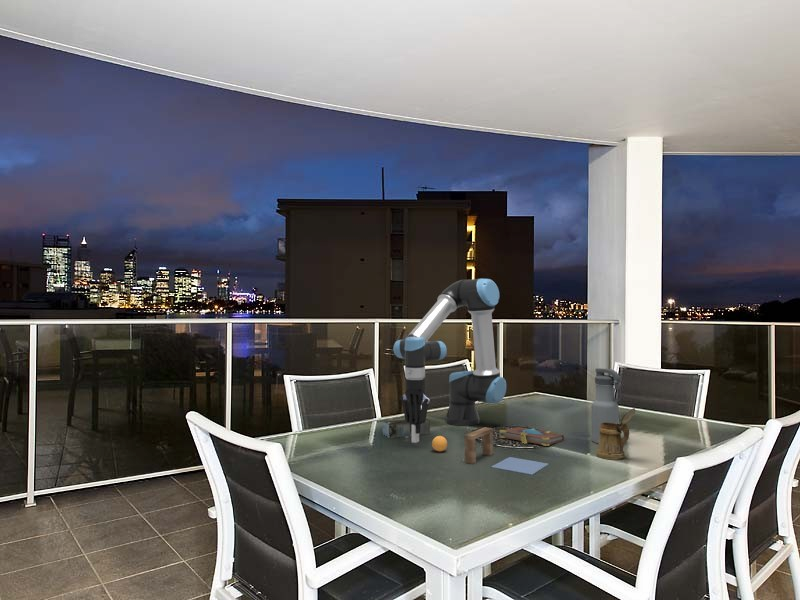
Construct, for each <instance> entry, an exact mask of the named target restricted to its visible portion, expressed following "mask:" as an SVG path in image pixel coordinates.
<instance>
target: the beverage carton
mask: <svg viewBox="0 0 800 600" xmlns="http://www.w3.org/2000/svg"><path fill="white" fill-rule="evenodd" d="M382 435H383V436H384V435H385V436H384V437H386V436H387V437H388V439H389V438H390V439H395V438H394V437H400V438H406V437H405V436H409V437H412V433H411V432H410V423H409V422H406V421H405V418H404V419H396V420H395V419H394V420H385V421H382ZM425 435H426V436H427V435H431V421H430V419H428V418H426V420H425V423H422V424H421V432H420V433H419V436H425ZM387 437H386V438H387Z"/></svg>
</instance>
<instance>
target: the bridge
mask: <svg viewBox="0 0 800 600" xmlns="http://www.w3.org/2000/svg"><path fill="white" fill-rule="evenodd" d="M493 431H494V429H493V427H486V426H485V427H482V428H479V429H476V430H475V431H474V430H473V431H472V432H469V433H467V434H465V435H464V463H465V464H471V465H473V464H476V462H477V457H476V455H477V453H476V451H477V450H476V449H477V447H476V444H477V441H476V439H478V438H480V437H482V439H481V441H482V455H484V456H489V457H490V456H493V454H494V453H493V452H494V447H493V444H494V440H493V439H494V437H493V433H494V432H493Z"/></svg>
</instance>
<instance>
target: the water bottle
mask: <svg viewBox="0 0 800 600" xmlns="http://www.w3.org/2000/svg"><path fill="white" fill-rule="evenodd" d="M595 373H596V374H595V375H596V376H595V377H594V385H595V400H593V401H592V402H591V408H590V409H591V441H592V442H594V443H595V444H599V436H600V432H599V429H600V427H601V423H605V422H609V423H616V424H617V423H620V419H619V417H620V413H619V412H620V409H619V408H620V407H619V404H618V402H619V401H620V400H621V387H619V383H620V382H621V377H620V375H619V373H618V372H617V371H616V370H614V369H613V368H601V367H600V368H597V367H596V368H595ZM606 374H609V375H606ZM616 391H617V394H618V396H617V399H616Z"/></svg>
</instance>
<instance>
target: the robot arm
mask: <svg viewBox="0 0 800 600" xmlns="http://www.w3.org/2000/svg"><path fill="white" fill-rule="evenodd" d="M499 300H500V290H499V287H498V286H497V284H496V283H495V281H493V280H492V279H490V278H475V279H474V278H473V279H460V280H458V281H456V282H453V283H452V284H450V285H449V286H448V287H446V288H445V289H444V290H443V291H442V292H441V293H440V294H439V295H438V297H437V301H436V302H435V303H434V305H433V306H432V307H431V308H430V309H429V311H427V313H426V314H425V315H424V316H423V317H422V319H420V321H419V322H418V323H417V324H416V325H415V326H414V328H413V329H412V330H411V331H410V332H409V334H408V335H407V336H406V337H405V338H404V339H403V338H402V339H398V340H396V341H395V342H394V344H393V349H392V350H393V353H394V356H396V357H397V358H399V359H404V377H405V379H404V389H405V391H404V394H402V395H400V396H399V400H400V401H401V405H402V408H403V415H404V419H405V421H406V422H409V423H410V432H411V433H412V436H411V443H414V444H416V443H419V442H420V435H419V433H420V432H421V424H422V423H425V420H426V419H427V416H428V415H427V413H428V409H429V405H430V403H431V401H432V399H431V398H430V397H427V396H426V392H425V388H426V379H425V378H426V362H433V361H437V362H438V361H440V360H443V359H445V357H446V356H447V351H448V349H447V346H446V344H445V343H444V342H443V341H440V340H432V341H431V340H429V339H430V338H431V337H432V336H433V334H435V332H436V331H437V329H438V328H439V327H440V326H441V324H443V322H444V321H445V320H446V319H447V318H448V316H449V315H450V314H451V313H454V312H456V310H457V309H458V308H460V307H467V308H466V309H467V312H468V313H469V314H470V316H471V324H472V336H473V345H474V346H473V349H474V350H473V351H474V360H475V361H474V362H475V369H474V370H465V371H455V372H452V373H450V374H449V381H448V384H449V386H448V388H449V389H448V390H449V391H448V392H449V397H448V398H449V405H448V409H447V412H446V415H445V423H446V424H448V425H452V426H463V427H464V426H475V425H479V424H480V416H479V413H478V409H477V406H476V402H480V403H485V404H499V403H500V402H501V401H502V400H503V399H504V398H505V395H506V393H507V381H506V378H505V377H502V376H501V372H500V370H499V369H498V368H497V366H496V365H497V364H496V353H495V341H494V340H495V339H494V329H493V316H492V314H493V313H494V311H495V306H496V305H497V304H498V303H499Z"/></svg>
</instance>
